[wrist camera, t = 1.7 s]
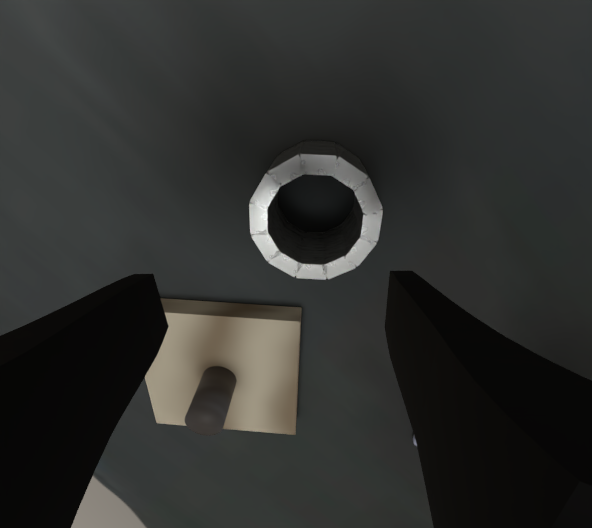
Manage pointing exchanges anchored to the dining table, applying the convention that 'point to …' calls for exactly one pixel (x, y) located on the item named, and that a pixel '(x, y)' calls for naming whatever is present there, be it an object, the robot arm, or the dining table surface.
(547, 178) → the dining table surface
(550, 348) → the dining table surface
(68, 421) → the robot arm
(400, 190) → the dining table surface
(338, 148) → the steel ring
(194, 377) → the post stand
